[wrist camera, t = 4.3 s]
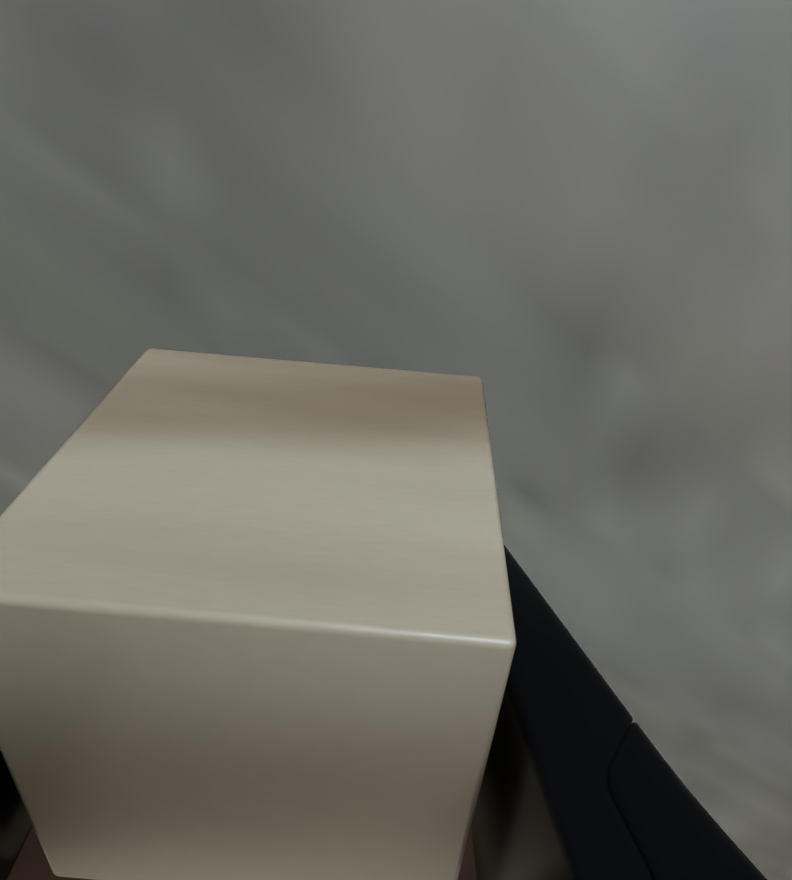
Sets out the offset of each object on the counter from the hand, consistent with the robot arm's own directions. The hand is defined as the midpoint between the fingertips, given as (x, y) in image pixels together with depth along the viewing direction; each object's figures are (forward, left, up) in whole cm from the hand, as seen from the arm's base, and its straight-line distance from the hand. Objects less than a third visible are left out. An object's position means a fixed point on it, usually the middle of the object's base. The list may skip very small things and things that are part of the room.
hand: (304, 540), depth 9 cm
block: (0, 0, -1) cm, 1 cm away
